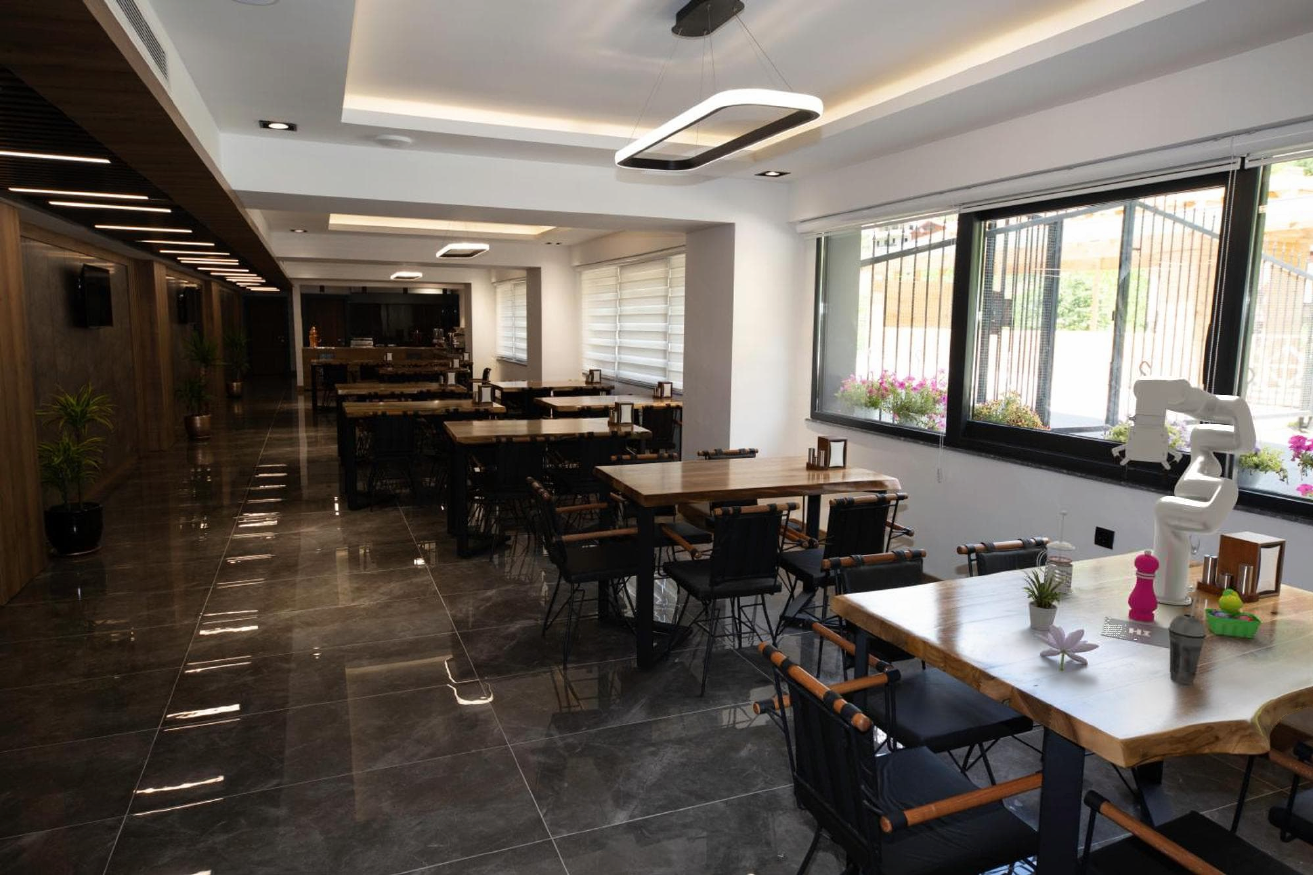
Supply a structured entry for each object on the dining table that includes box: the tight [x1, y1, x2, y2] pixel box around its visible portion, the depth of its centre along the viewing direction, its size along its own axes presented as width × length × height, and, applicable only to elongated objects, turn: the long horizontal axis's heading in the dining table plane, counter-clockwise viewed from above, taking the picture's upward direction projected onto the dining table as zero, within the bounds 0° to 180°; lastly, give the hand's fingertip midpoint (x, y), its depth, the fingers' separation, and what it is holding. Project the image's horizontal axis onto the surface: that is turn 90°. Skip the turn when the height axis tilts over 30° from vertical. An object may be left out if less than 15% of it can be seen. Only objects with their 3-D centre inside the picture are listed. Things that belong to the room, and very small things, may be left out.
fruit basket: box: [1204, 588, 1262, 639], centre depth 219 cm, size 11×9×11 cm
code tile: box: [1100, 616, 1170, 649], centre depth 217 cm, size 17×17×1 cm
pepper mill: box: [1127, 548, 1159, 623], centre depth 228 cm, size 7×7×20 cm
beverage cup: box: [1168, 595, 1207, 685], centre depth 185 cm, size 7×7×20 cm
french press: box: [1036, 510, 1076, 594], centre depth 253 cm, size 10×12×25 cm
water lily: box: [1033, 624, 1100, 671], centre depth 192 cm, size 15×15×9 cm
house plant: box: [1016, 567, 1071, 631], centre depth 219 cm, size 14×14×16 cm
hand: (1143, 480), depth 231 cm, fingers open, 9 cm apart
